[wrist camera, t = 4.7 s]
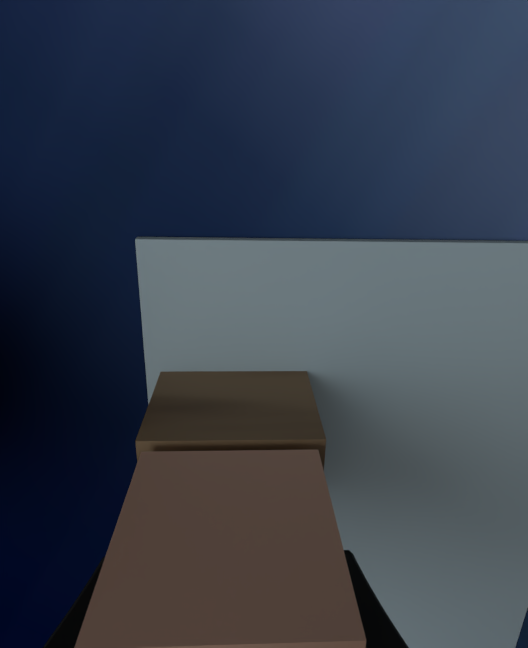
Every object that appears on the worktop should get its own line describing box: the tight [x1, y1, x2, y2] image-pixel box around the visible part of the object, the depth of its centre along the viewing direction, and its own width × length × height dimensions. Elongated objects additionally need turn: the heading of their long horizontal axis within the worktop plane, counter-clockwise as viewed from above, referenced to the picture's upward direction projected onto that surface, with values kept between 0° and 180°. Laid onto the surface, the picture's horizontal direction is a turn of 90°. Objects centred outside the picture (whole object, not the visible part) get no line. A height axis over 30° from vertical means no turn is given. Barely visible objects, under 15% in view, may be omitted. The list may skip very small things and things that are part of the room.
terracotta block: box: [74, 449, 366, 648], centre depth 10 cm, size 4×4×5 cm
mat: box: [135, 237, 528, 648], centre depth 18 cm, size 20×16×1 cm
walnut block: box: [135, 371, 326, 470], centre depth 15 cm, size 5×5×4 cm
